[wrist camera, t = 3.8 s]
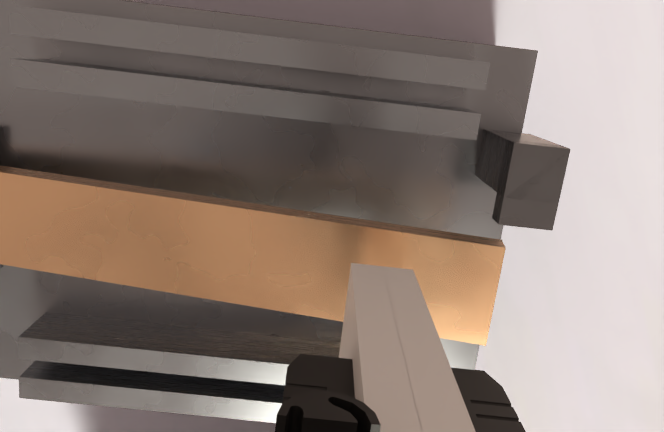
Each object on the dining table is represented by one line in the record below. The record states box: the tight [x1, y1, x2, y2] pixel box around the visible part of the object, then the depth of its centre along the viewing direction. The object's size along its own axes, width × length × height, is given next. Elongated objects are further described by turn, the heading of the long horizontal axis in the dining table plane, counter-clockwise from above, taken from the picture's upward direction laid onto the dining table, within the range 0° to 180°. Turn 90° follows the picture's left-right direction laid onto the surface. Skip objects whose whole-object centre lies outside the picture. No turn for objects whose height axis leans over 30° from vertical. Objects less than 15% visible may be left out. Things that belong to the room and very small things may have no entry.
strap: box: [0, 166, 505, 346], centre depth 18 cm, size 19×4×2 cm, turn 83°
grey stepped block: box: [0, 0, 570, 423], centre depth 21 cm, size 21×14×8 cm
